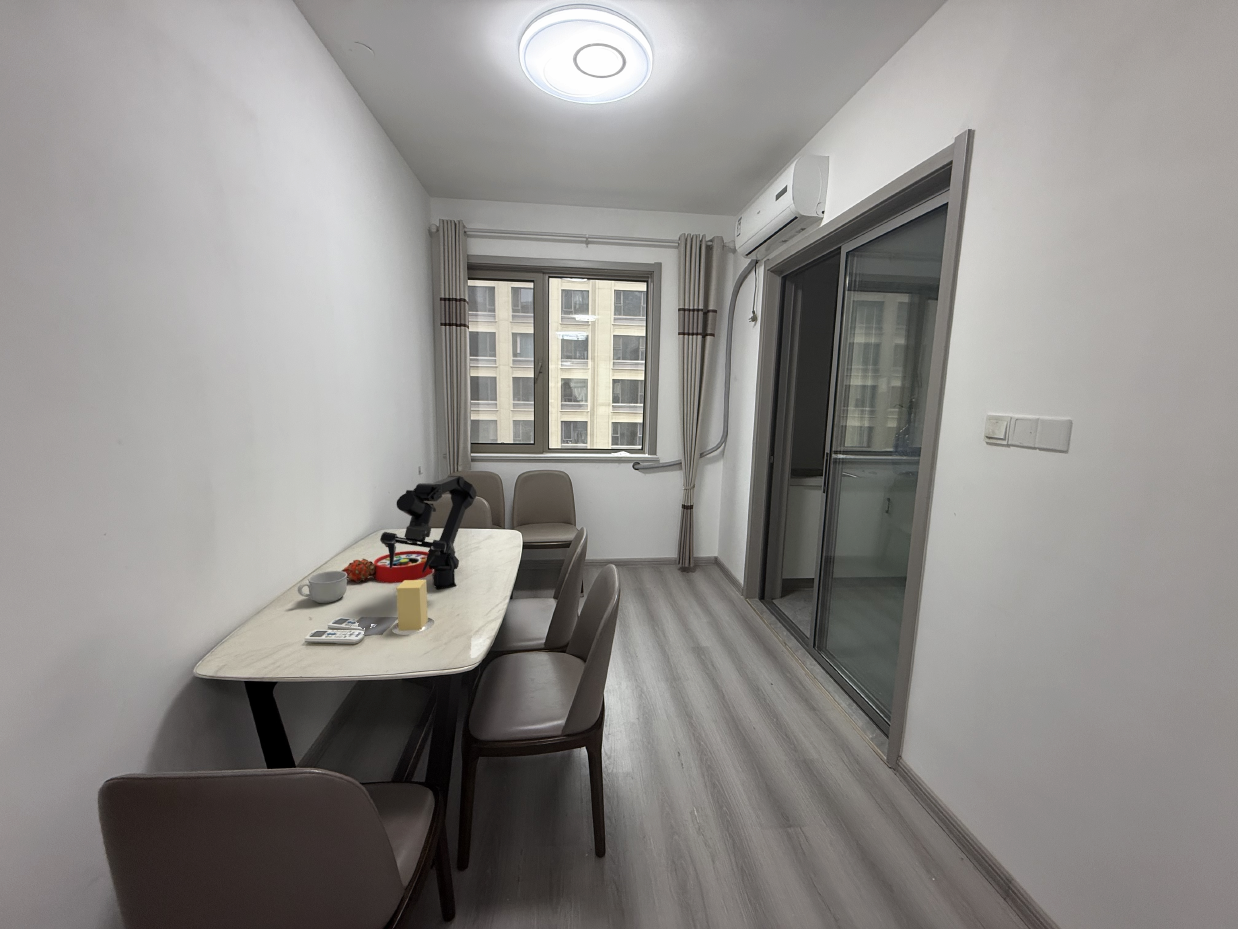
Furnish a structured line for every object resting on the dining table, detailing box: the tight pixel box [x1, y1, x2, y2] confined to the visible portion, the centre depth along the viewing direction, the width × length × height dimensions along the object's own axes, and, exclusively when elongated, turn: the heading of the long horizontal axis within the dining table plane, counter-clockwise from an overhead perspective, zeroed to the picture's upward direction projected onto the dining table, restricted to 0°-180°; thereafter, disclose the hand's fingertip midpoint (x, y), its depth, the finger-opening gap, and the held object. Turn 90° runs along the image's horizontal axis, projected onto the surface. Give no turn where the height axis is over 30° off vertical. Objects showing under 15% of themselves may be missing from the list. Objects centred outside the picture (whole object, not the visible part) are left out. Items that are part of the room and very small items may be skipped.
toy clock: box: [373, 550, 434, 584], centre depth 179 cm, size 20×6×20 cm
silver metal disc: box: [391, 617, 435, 636], centre depth 134 cm, size 11×11×4 cm
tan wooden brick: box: [396, 579, 429, 631], centre depth 134 cm, size 6×6×12 cm
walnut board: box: [349, 616, 398, 636], centre depth 134 cm, size 24×16×1 cm, turn 91°
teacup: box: [297, 570, 348, 604], centre depth 153 cm, size 14×11×8 cm
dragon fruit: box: [341, 557, 376, 584], centre depth 171 cm, size 8×8×12 cm
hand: (406, 570), depth 145 cm, fingers open, 9 cm apart
